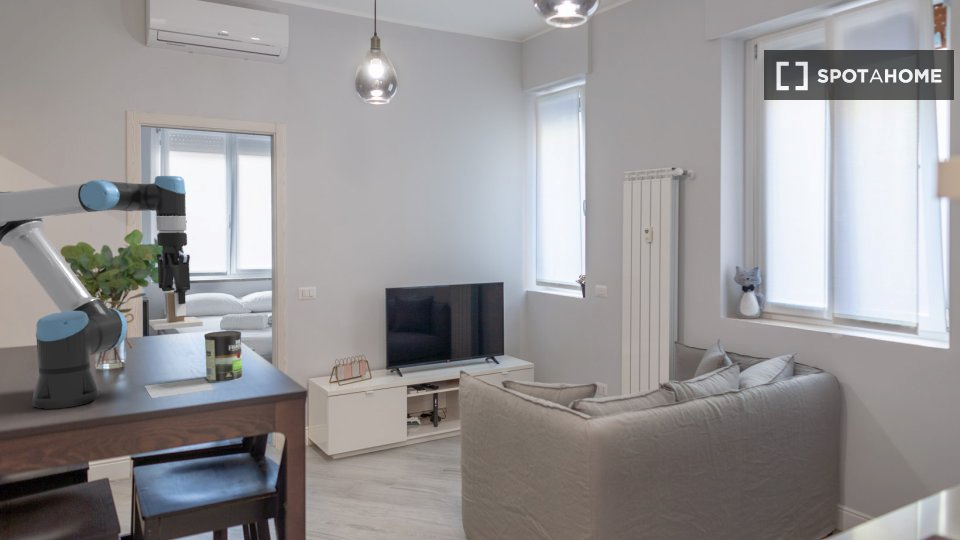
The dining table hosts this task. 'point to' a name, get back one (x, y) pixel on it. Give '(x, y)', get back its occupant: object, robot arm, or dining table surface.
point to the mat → (178, 388)
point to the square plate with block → (174, 317)
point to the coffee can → (223, 356)
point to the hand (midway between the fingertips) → (175, 314)
